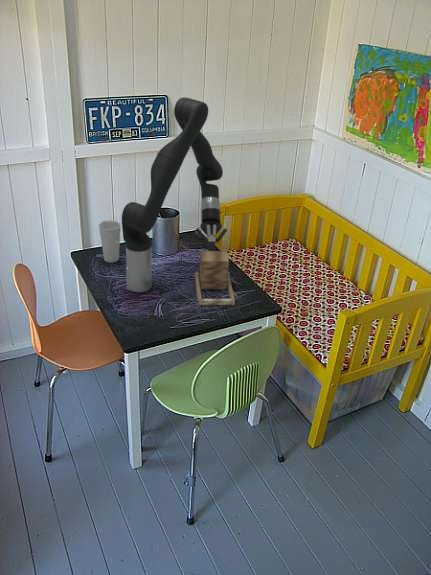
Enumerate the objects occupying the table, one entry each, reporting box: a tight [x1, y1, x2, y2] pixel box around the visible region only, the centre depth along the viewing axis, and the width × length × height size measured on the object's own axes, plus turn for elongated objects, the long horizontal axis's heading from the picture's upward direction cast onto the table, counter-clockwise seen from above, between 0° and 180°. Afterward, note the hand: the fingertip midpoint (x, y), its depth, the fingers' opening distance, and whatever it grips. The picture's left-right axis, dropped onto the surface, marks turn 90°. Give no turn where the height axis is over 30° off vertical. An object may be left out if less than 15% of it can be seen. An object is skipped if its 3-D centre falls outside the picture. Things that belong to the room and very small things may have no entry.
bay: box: [194, 271, 236, 306], centre depth 206 cm, size 18×21×3 cm
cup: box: [98, 220, 121, 264], centre depth 220 cm, size 8×8×16 cm
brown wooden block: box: [198, 250, 230, 290], centre depth 206 cm, size 10×8×12 cm
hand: (211, 252), depth 214 cm, fingers closed
